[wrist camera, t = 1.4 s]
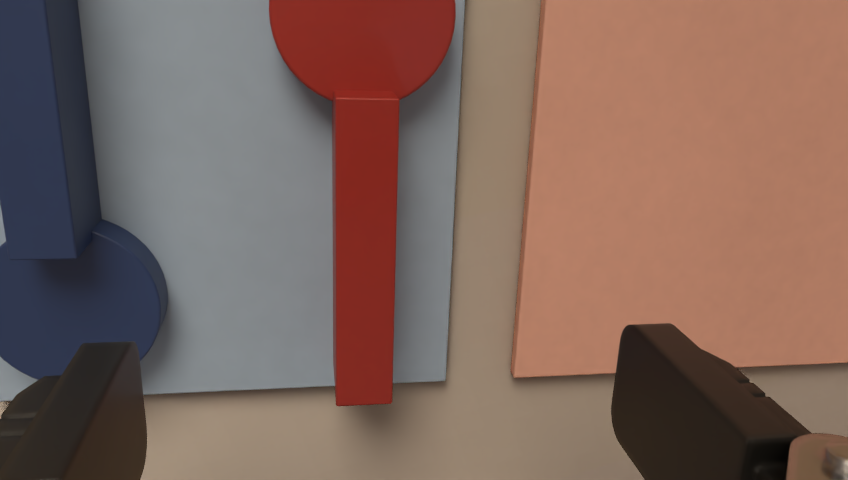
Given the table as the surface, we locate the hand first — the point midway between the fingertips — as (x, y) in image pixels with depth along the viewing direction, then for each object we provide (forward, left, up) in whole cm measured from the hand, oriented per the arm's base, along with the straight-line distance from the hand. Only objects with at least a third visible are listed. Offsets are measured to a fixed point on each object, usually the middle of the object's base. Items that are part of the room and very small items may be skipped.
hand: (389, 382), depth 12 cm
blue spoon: (-2, -7, -7) cm, 10 cm away
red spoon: (-2, 0, -7) cm, 8 cm away
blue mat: (-2, -3, -8) cm, 9 cm away
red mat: (-2, +11, -8) cm, 13 cm away
